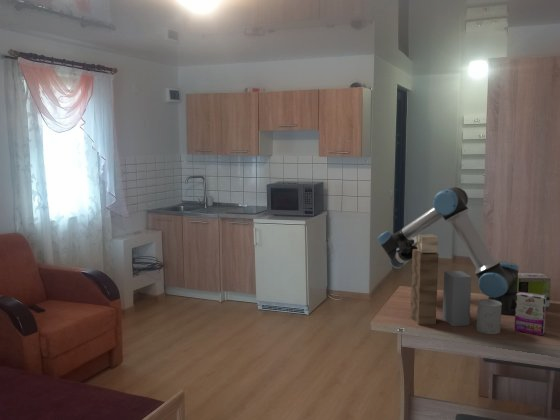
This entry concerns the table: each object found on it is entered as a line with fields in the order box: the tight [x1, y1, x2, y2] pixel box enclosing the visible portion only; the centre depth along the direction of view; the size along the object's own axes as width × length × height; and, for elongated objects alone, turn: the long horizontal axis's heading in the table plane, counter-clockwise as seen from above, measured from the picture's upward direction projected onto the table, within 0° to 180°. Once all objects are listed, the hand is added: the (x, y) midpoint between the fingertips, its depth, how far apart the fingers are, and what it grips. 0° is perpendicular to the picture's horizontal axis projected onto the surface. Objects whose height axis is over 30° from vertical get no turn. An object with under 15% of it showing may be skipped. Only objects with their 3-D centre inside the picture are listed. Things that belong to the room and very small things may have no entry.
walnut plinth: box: [410, 249, 440, 326], centre depth 231 cm, size 10×8×32 cm
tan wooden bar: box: [410, 234, 439, 253], centre depth 233 cm, size 20×7×7 cm, turn 6°
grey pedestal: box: [441, 270, 472, 327], centre depth 230 cm, size 10×8×22 cm
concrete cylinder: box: [476, 298, 502, 335], centre depth 221 cm, size 10×10×12 cm
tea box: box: [517, 272, 552, 308], centre depth 254 cm, size 15×10×15 cm, turn 84°
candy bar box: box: [514, 292, 547, 336], centre depth 218 cm, size 11×5×16 cm, turn 56°
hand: (421, 238), depth 233 cm, fingers closed on tan wooden bar, 3 cm apart
